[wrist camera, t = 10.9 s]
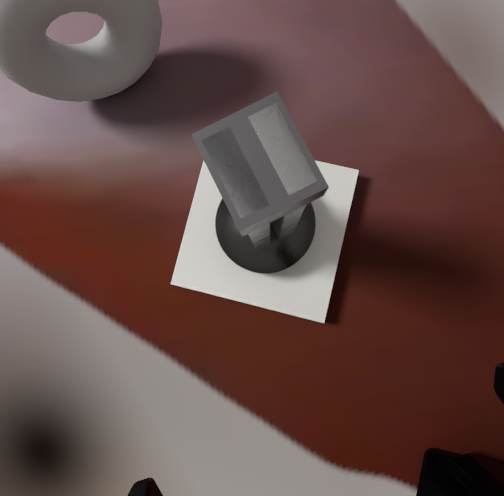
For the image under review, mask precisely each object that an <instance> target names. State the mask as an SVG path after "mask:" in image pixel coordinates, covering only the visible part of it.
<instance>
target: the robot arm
mask: <svg viewBox="0 0 504 496" xmlns="http://www.w3.org/2000/svg"><path fill="white" fill-rule="evenodd" d="M494 390H495V393H496V394H497V396H498V397H499V399H500V400H501V401H502V403H503V404H504V362H503V363H500V364H498V365H497V366H496V368H495V378H494ZM434 456H437V459H436V460H435V461H432V460H431V459H432V457H434ZM128 496H163V495H162V493H161V491H160V490H159V488H158V486H157V485H156V483H155V481H154V479H153V478H147V479H144V480H141V481H138V482H136V483H135V484H134V485H133V486H132V488H131V490H130V492H129V494H128ZM416 496H504V463H502V462H498V461H495V460H491V459H487V458H484V457H480V456H476V455H473V454H469V453H468V454H465V455H463V457H462V456H459V455H455V454H452V453H448V452H444V451H441V450H437V449H432V448H431V449H428V450H427V451H426V452H425V454H424V459H423V464H422V469H421V474H420V479H419V485H418V490H417V495H416Z"/></svg>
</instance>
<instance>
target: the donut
mask: <svg viewBox="0 0 504 496" xmlns="http://www.w3.org/2000/svg"><path fill="white" fill-rule="evenodd" d="M84 11H86V12H89V13H93V14H97V15H99V16H101V17H102V18H103V19H104V26H103V29H102V30H101V31H100V32H99V34H98V35H97V36H95V37H94V38H92V39H91V40H89V41H86V42H83V43H80V44H65V43H59V42H57V41H54V40H52V39H50V38H49V37H48V36H46V29H47V28H48V26H49V25H50V23H51V22H52V21H54V20H55V19H56V18H58V17H59V16H61V15H64V14H67V13H70V12H84ZM161 30H162V18H161V13H160V9H159V4H158V0H0V72H1V73H2V74H3V75H4V76H6V77H7V78H8V79H10V80H12V81H13V82H15V83H17V84H18V85H20V86H22V87H23V88H25V89H27V90H28V91H30V92H33V93H36V94H40V95H43V96H46V97H49V98H53V99H57V100H66V101H79V102H81V101H89V100H96V99H102V98H105V97H108V96H111V95H113V94H116V93H119V92H121V91H123V90H124V89H126V88H127V87H129V86H130V85H132V84H134V83H135V82H136V81H137V80H138V79H139V78H140V77H141V76H142V75H143V74H144V73H145V72H146V71H147V70H148V68H149V67H150V66H151V64H152V62H153V60H154V58H155V56H156V54H157V52H158V50H159V45H160V38H161Z"/></svg>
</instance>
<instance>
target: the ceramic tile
mask: <svg viewBox="0 0 504 496" xmlns="http://www.w3.org/2000/svg"><path fill="white" fill-rule="evenodd" d="M315 162H316V164H317V166H318V168H319V170H320V172H321V173H322V175H323V177H324V179H325V181H326V183H327V184H328V186H329V188H328V189H327V191H326V193H325V194H324V196H322V197H320V198H318V199H316V200H314V201H312V202H311V204H312V206H313V209H314V212H315V219H316V227H315V234H314V238H313V241H312V243H311V245H310V247H309V249H308V251H307V252H306V253H305V255H304V256H303V257H302V258H301V259H300V260H299V261H298V262H296V263H295V264H294V265H292V266H291V267H289V268H287V269H285V270H283V271H280V272H276V273H270V274H261V273H255V272H251V271H249V270H246V269H244V268H242V267H240V266H238V265H237V264H235V263H234V262H233V261H232V260H231V259H230V258H229V257H228V256H227V255H226V254H225V252H224V251H223V249H222V248H221V246H220V244H219V241H218V239H217V235H216V228H215V219H216V213H217V209H218V206H219V204H220V202H221V200H222V196H221V194H220V192H219V190H218V188H217V186H216V184H215V182H214V180H213V178H212V176H211V174H210V172H209V170H208V168H207V166H206V164H205V162H204V161H203V165H202V168H201V172H200V176H199V180H198V183H197V187H196V191H195V195H194V198H193V202H192V206H191V209H190V213H189V217H188V221H187V224H186V228H185V232H184V236H183V239H182V243H181V247H180V251H179V254H178V258H177V262H176V266H175V269H174V273H173V277H172V281H171V284H172V285H176V286H180V287H184V288H188V289H192V290H196V291H200V292H204V293H208V294H211V295H215V296H219V297H223V298H227V299H231V300H235V301H239V302H243V303H247V304H251V305H254V306H258V307H262V308H266V309H270V310H274V311H278V312H282V313H286V314H290V315H294V316H297V317H301V318H305V319H309V320H313V321H317V322H321V323H324V322H325V318H326V313H327V309H328V304H329V300H330V296H331V291H332V287H333V282H334V278H335V274H336V269H337V265H338V260H339V256H340V252H341V247H342V243H343V238H344V234H345V229H346V225H347V221H348V216H349V212H350V207H351V203H352V199H353V194H354V190H355V185H356V181H357V177H358V172H359V170H356V169H351V168H347V167H342V166H338V165H333V164H329V163H324V162H320V161H315Z"/></svg>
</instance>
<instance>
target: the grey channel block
mask: <svg viewBox="0 0 504 496" xmlns="http://www.w3.org/2000/svg"><path fill="white" fill-rule="evenodd" d="M191 135H192V137H193V139H194V141H195V143H196V145H197V147H198V150H199V152H200V154H201V156H202V158H203V160H204V162H205V164H206V166H207V168H208V170H209V172H210V174H211V176H212V178H213V180H214V182H215V184H216V186H217V188H218V190H219V192H220V194H221V196H222V200H221V202H220V204H219V206H218V209H217V213H216V219H215V228H216V235H217V239H218V241H219V244H220V246H221V248H222V249H223V251H224V252H225V254H226V255H227V256H228V257H229V258H230V259H231V260H232V261H233V262H234V263H235V264H237V265H238V266H240V267H242V268H244V269H246V270H249V271H251V272H255V273H261V274H270V273H276V272H280V271H283V270H285V269H287V268H289V267H291V266H292V265H294V264H295V263H296V262H298V261H299V260H300V259H301V258H302V257H303V256H304V255H305V253H306V252H307V251H308V249H309V247H310V245H311V243H312V241H313V238H314V234H315V227H316V219H315V212H314V209H313V206H312V204H311V202H312V201H314V200H316V199H318V198H320V197H322V196H324V194H325V193H326V191H327V189H328V188H329V186H328V184H327V183H326V181H325V179H324V177H323V175H322V173H321V172H320V170H319V168H318V166H317V164H316V162H315V160H314V159H313V157H312V155H311V153H310V151H309V149H308V147H307V146H306V144H305V142H304V140H303V138H302V136H301V134H300V133H299V131H298V129H297V127H296V125H295V123H294V121H293V120H292V118H291V116H290V114H289V112H288V110H287V108H286V107H285V105H284V103H283V101H282V99H281V97H280V95H279V94H278V92H275V93H273V94H271V95H269V96H267V97H265V98H263V99H261V100H259V101H257V102H255V103H253V104H251V105H249V106H247V107H245V108H243V109H241V110H239V111H237V112H235V113H233V114H231V115H229V116H227V117H225V118H223V119H221V120H219V121H217V122H215V123H213V124H211V125H209V126H207V127H205V128H203V129H201V130H199V131H197V132H195V133H193V134H191Z"/></svg>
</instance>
